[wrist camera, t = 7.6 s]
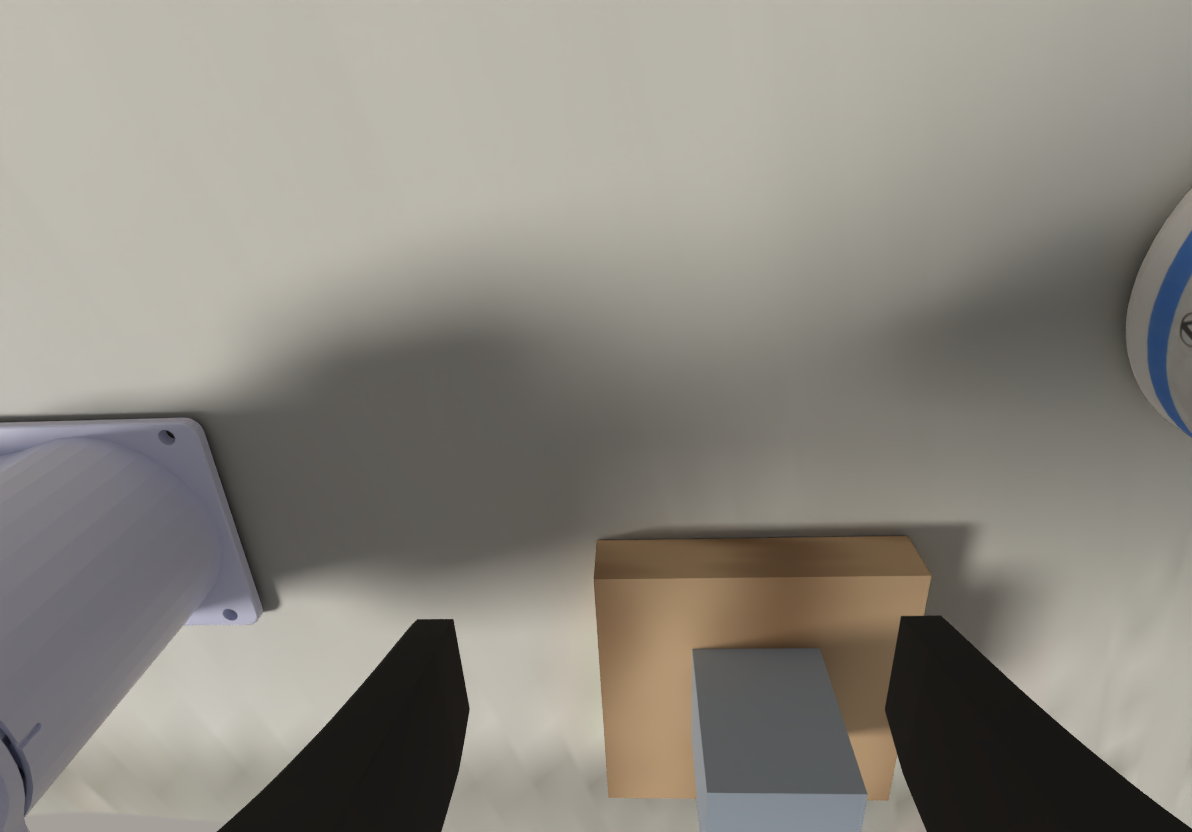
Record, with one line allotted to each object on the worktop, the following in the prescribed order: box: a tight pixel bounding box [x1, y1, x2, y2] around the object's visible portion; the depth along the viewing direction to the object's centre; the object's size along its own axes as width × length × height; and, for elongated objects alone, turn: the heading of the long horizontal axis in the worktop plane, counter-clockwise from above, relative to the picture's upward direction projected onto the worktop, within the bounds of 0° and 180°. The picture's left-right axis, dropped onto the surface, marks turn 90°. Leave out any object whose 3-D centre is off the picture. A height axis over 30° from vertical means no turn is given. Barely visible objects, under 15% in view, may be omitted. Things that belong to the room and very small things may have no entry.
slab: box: [594, 536, 931, 800], centre depth 24 cm, size 10×10×2 cm
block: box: [691, 648, 868, 832], centre depth 21 cm, size 4×4×5 cm
